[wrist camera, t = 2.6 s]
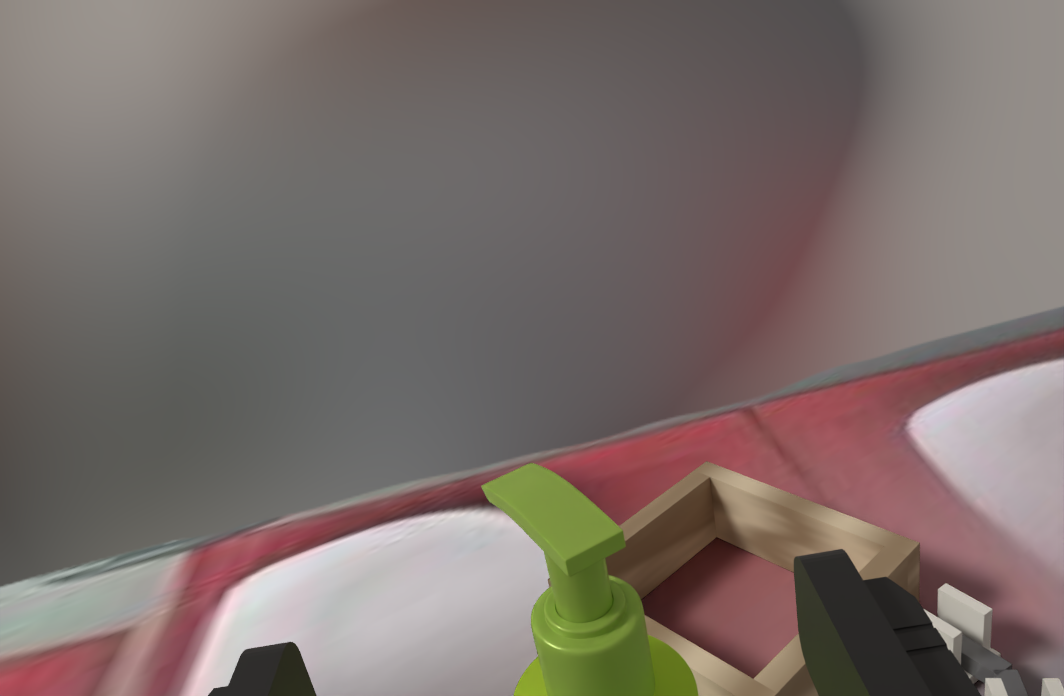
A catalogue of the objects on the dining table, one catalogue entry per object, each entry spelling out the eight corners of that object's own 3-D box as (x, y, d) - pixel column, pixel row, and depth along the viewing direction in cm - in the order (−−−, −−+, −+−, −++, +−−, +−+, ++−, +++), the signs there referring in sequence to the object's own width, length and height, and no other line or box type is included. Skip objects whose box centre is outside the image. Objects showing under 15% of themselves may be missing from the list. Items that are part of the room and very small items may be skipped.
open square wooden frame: (561, 643, 47) (547, 579, 45) (713, 520, 54) (706, 461, 52) (767, 784, 37) (760, 710, 35) (919, 611, 44) (919, 542, 42)
